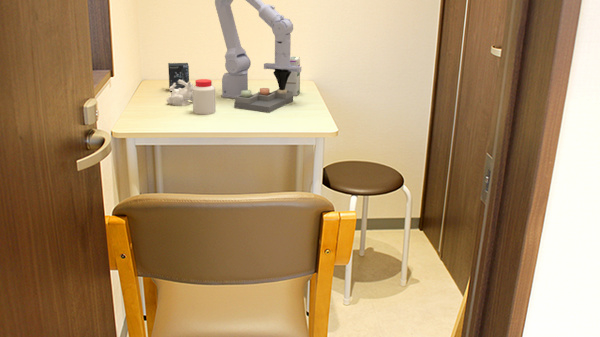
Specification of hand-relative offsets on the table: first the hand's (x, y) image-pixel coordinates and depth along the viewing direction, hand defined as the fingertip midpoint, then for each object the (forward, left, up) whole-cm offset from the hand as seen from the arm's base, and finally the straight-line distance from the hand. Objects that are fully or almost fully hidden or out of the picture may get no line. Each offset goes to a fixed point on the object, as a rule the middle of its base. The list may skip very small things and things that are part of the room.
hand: (282, 89), depth 225 cm
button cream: (0, 0, -2) cm, 2 cm away
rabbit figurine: (-30, -21, -5) cm, 37 cm away
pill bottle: (-17, -26, -5) cm, 32 cm away
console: (-4, -7, -5) cm, 9 cm away
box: (-45, -3, -5) cm, 45 cm away
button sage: (-8, -13, -1) cm, 15 cm away
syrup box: (-3, +13, -5) cm, 15 cm away
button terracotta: (-4, -7, -1) cm, 8 cm away
